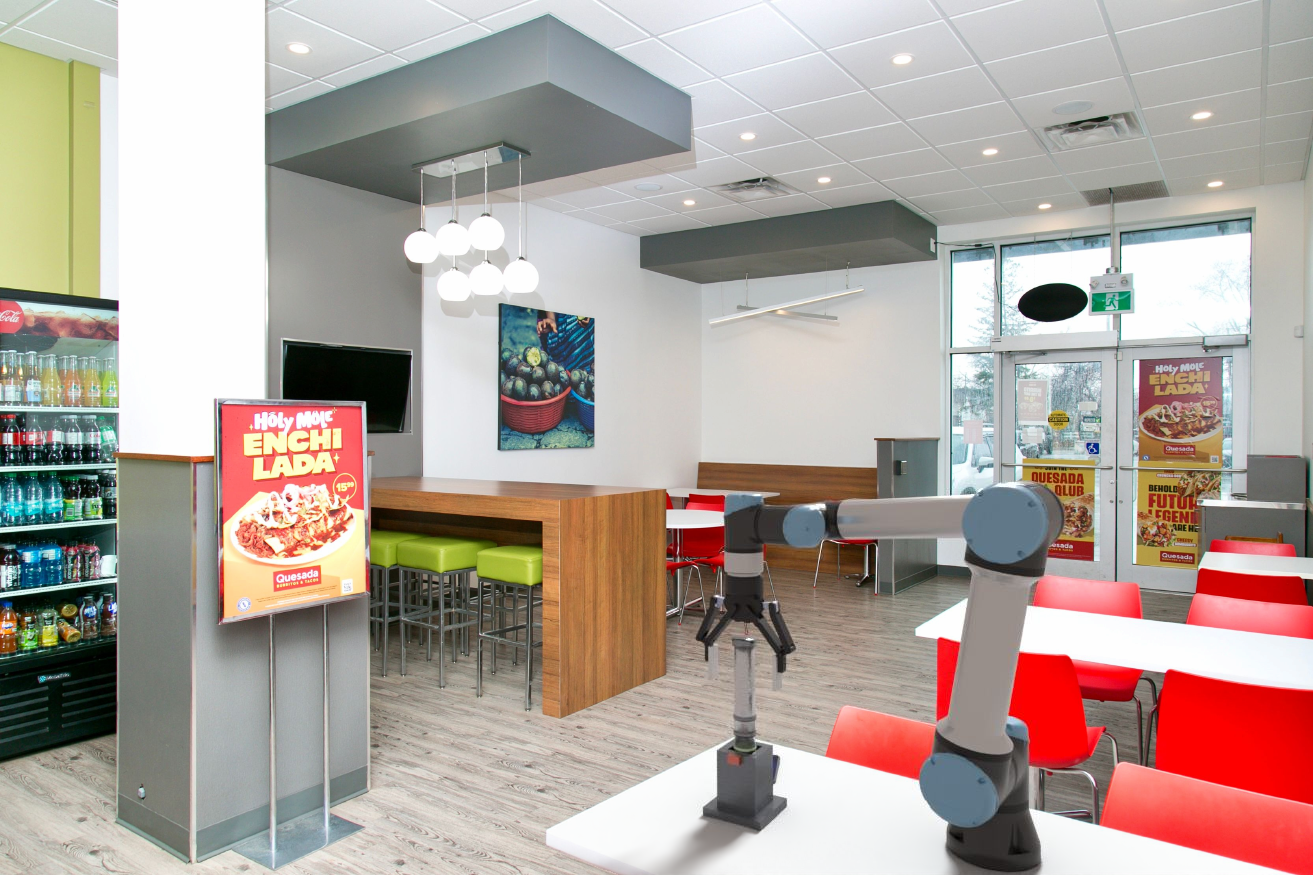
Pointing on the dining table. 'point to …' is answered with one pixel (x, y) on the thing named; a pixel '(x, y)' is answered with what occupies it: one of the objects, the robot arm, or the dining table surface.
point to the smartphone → (775, 767)
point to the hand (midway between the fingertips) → (744, 683)
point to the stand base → (745, 787)
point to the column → (744, 694)
